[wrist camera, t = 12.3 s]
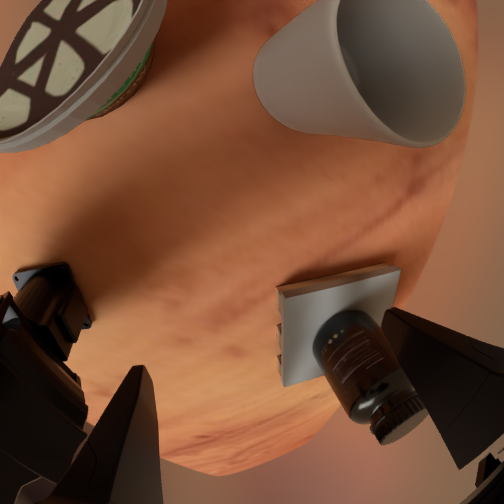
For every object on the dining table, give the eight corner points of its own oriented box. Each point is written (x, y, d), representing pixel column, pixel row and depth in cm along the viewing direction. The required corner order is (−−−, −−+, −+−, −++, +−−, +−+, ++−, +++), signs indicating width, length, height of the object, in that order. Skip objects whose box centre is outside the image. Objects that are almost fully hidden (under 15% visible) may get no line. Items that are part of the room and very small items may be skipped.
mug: (335, 150, 20) (444, 181, 10) (234, 107, 17) (295, 84, 7) (376, 35, 16) (476, 14, 6) (289, -15, 13) (366, -83, 3)
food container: (106, 170, 17) (42, 212, 8) (44, 133, 14) (-46, 150, 5) (209, 28, 14) (237, -48, 5) (142, -6, 11) (123, -85, 3)
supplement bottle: (379, 324, 26) (446, 404, 16) (331, 367, 27) (384, 453, 17) (351, 293, 23) (437, 390, 13) (296, 344, 24) (354, 453, 14)
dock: (277, 370, 29) (284, 387, 27) (275, 282, 24) (285, 298, 22) (367, 342, 31) (377, 355, 29) (386, 258, 26) (400, 269, 24)
